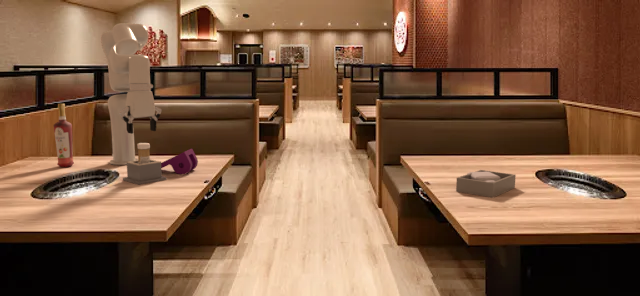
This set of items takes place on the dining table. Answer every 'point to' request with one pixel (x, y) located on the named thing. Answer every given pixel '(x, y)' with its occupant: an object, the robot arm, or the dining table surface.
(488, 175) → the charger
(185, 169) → the mounting bracket
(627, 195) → the dining table surface
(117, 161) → the robot arm
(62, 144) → the liquor
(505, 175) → the stand
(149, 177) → the well
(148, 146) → the sprinkles bottle
